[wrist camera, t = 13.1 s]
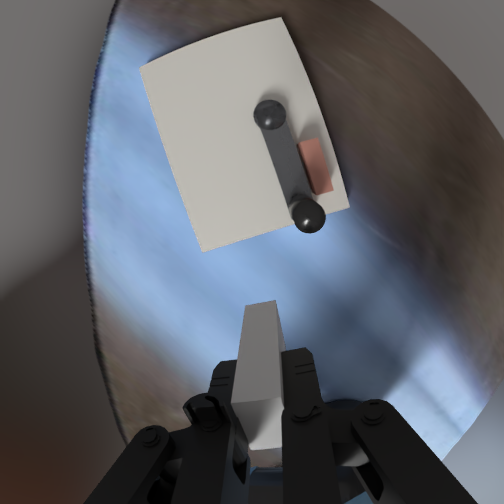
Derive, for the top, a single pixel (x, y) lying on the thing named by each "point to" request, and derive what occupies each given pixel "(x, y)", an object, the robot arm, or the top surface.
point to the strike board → (238, 130)
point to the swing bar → (288, 166)
